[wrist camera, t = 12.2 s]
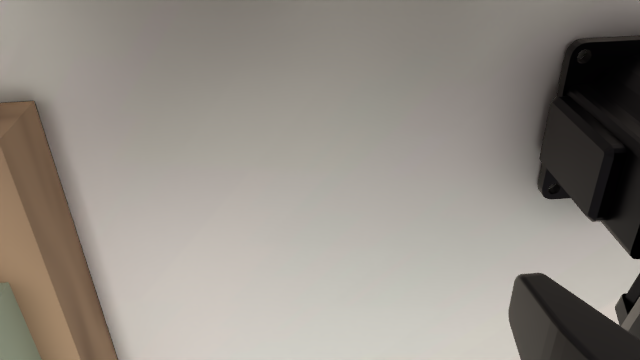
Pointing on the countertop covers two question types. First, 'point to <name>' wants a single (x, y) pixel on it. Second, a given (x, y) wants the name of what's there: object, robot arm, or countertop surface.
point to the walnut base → (44, 246)
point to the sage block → (14, 329)
